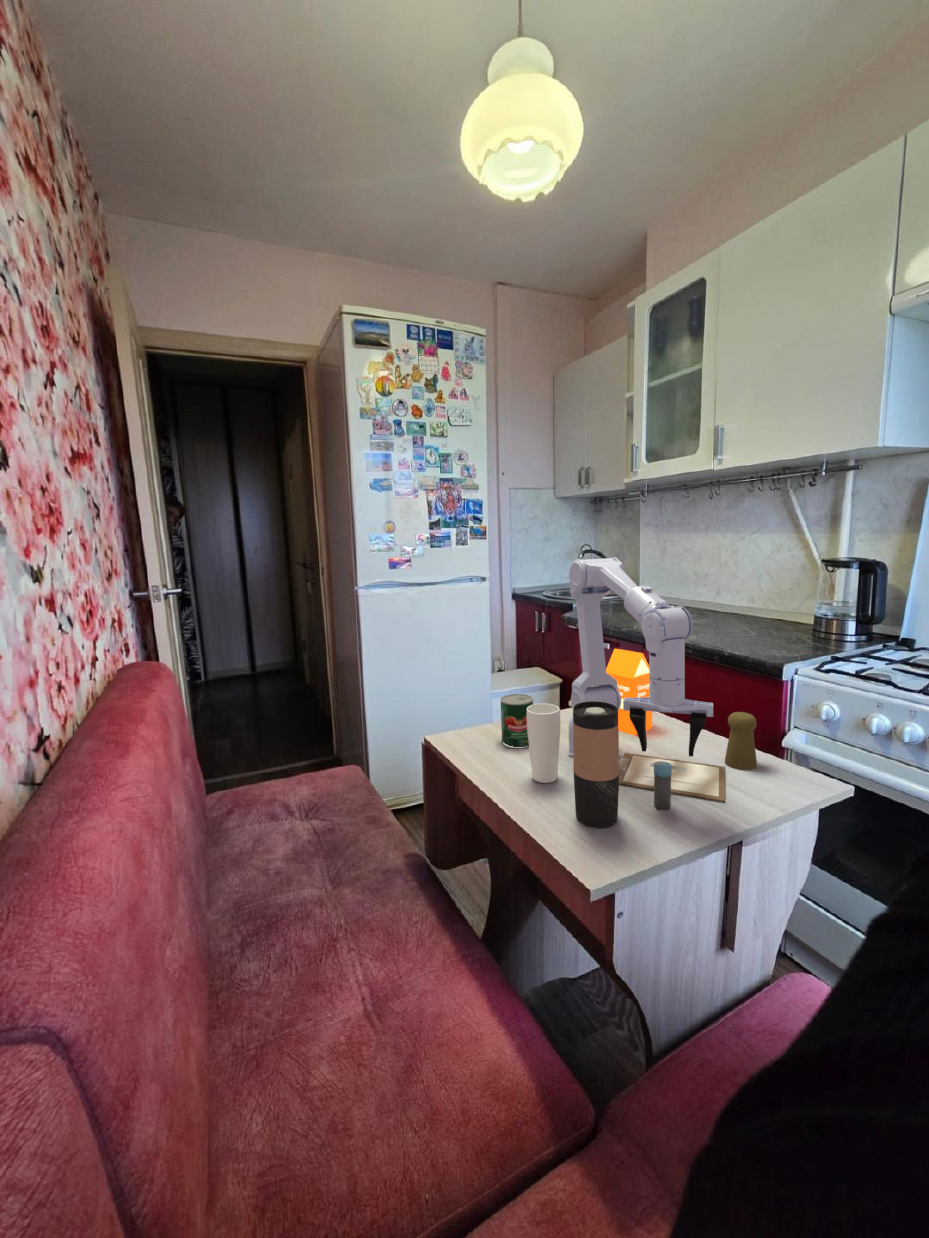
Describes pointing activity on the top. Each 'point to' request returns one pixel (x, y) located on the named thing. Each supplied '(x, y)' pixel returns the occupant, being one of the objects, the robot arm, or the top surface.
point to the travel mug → (596, 763)
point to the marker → (662, 785)
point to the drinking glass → (543, 741)
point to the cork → (741, 742)
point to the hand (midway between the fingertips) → (667, 751)
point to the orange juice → (630, 684)
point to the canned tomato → (515, 719)
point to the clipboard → (674, 776)
